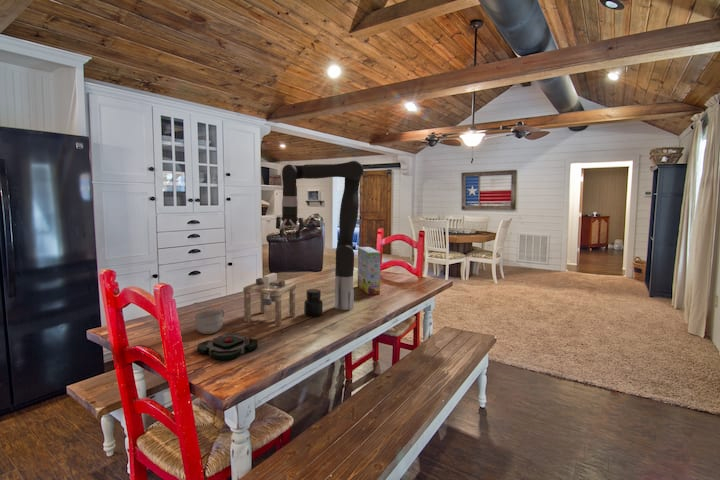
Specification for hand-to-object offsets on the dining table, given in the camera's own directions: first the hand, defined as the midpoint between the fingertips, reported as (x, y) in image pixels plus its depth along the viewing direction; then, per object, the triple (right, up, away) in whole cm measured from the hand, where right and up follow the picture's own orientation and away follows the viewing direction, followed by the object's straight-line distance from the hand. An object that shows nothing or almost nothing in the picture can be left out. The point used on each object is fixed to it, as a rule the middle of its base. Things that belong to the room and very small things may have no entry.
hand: (289, 237), depth 192 cm
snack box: (+40, -32, +44) cm, 68 cm away
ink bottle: (+13, -38, -6) cm, 40 cm away
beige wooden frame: (-7, -38, -14) cm, 41 cm away
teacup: (-27, -40, -30) cm, 57 cm away
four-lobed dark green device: (-14, -43, -49) cm, 66 cm away
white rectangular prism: (-6, -30, -15) cm, 34 cm away
